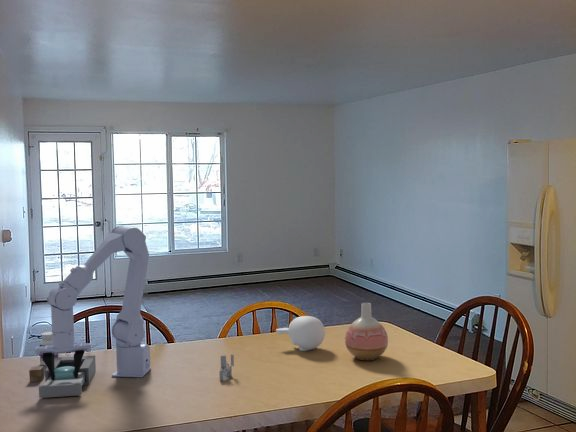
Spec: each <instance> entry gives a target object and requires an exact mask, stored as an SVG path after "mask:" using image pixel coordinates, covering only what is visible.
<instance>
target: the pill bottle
mask: <svg viewBox="0 0 576 432" xmlns="http://www.w3.org/2000/svg"><path fill="white" fill-rule="evenodd" d="M47 345H53V340H52V331H45V332H42V333H41V340H40V341H39V347H40V346H47ZM58 357H59V353H55V355H54V358H58ZM39 358H40V359H39V360H40V361H39V362H40V366H46V364H45V363H44V361H43V359H42V358H43V354H41V355H39Z"/></svg>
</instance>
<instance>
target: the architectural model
mask: <svg viewBox="0 0 576 432" xmlns="http://www.w3.org/2000/svg"><path fill="white" fill-rule="evenodd" d="M234 357H235V356H234V354H230V364H229V363H228V360H227V355H226V354H224V355H220V366H219V367H220V369H219V382H221V381H223V382H224V381H225V382H226V381H229V377H232V376H233V375H232V374H233V372H232V370H233V369H232V367H234V366H235V365H234V364H235V361H234V360H235V358H234Z"/></svg>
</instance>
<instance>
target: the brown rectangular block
mask: <svg viewBox="0 0 576 432" xmlns="http://www.w3.org/2000/svg"><path fill="white" fill-rule="evenodd" d="M44 367H45V365H40V366H39V365H38V366H31V367H30V369H29V370H28V372H29V383H36V382H38V383H39V382H43V380H44V379H45V369H44Z"/></svg>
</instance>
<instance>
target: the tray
mask: <svg viewBox="0 0 576 432" xmlns="http://www.w3.org/2000/svg"><path fill="white" fill-rule="evenodd" d="M85 379H86V372H79V373H78V378H75V377H71V378H68V379H56V378H55V380H51V376H50V377H49V379H48V380H47V381H46V382H45V383H44V384H43V385H38V398H39V399H42V398H43V399H46V398H55V397H57V398H59V397H72V396H74V397H75V396H82V395H83V394H82V393H83V389H82V388H83V386H84V385H83V383H84V381H85Z"/></svg>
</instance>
